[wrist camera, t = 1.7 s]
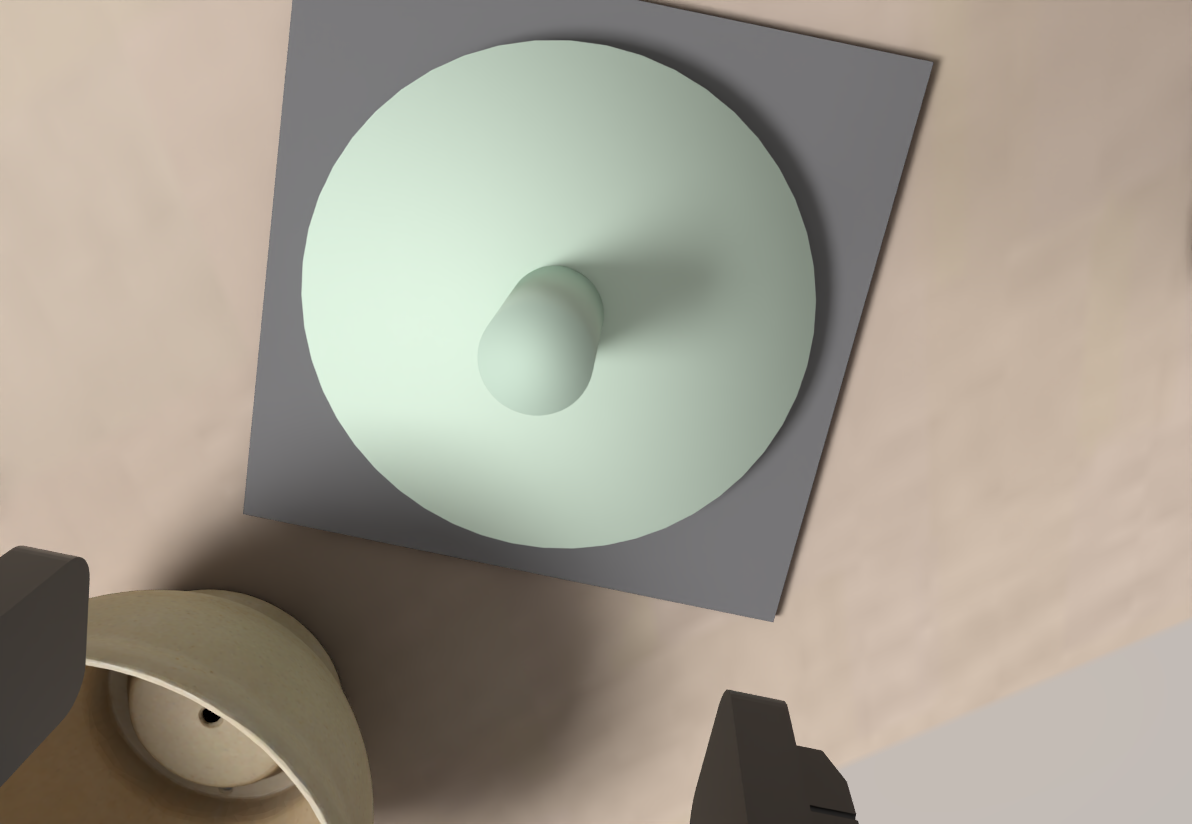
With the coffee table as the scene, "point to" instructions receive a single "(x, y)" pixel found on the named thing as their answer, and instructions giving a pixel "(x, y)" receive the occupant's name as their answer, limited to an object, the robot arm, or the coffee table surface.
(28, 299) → the coffee table surface
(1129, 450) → the coffee table surface
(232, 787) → the planter bowl
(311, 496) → the mat
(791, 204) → the lid
